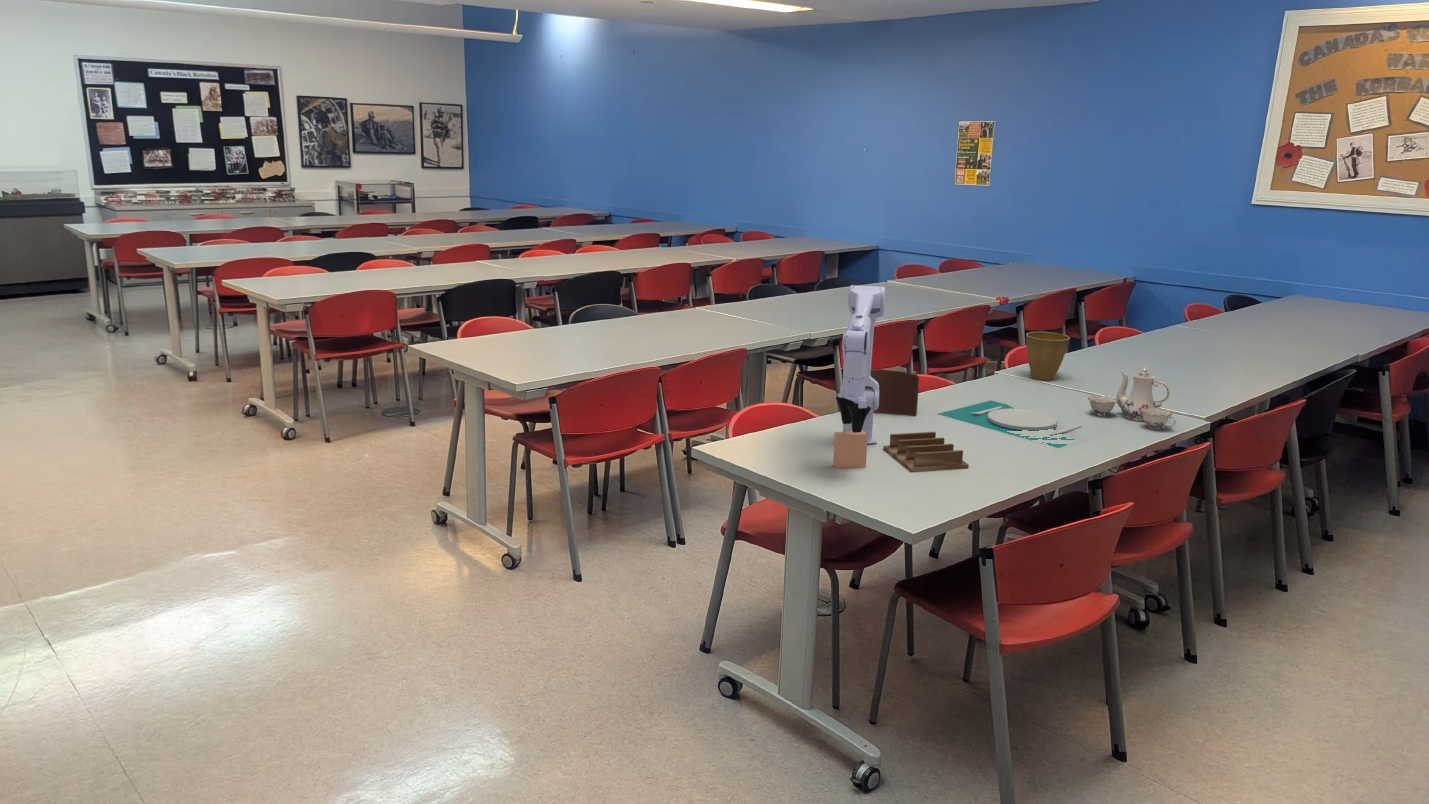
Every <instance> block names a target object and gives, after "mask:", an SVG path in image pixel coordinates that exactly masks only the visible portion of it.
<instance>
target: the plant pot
mask: <svg viewBox="0 0 1429 804" xmlns="http://www.w3.org/2000/svg"><path fill="white" fill-rule="evenodd" d="M1025 335H1026V336H1025V338H1026V339H1025V341H1026V352H1027V353H1026V354H1027V360H1028V366H1029V370H1030V374H1031V377H1032V378H1033V379H1035V380H1036V381H1037V380H1038V381H1044V382H1045V381H1049V382H1050V381H1053V380H1054V379H1055V378H1056V376H1057V373H1058V371H1059V369H1060V366H1061V365H1062V364H1063V363H1062V362H1063V361H1064V360H1063V359H1064V358H1065V355H1066V352H1067V349H1068V345H1069V342H1070V339H1071V337H1070V336H1069V335H1066V334H1063V333H1062V334H1061V333H1058V332H1051V331H1050V332H1048V331H1030V332H1026V333H1025Z"/></svg>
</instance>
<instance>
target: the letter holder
mask: <svg viewBox="0 0 1429 804" xmlns="http://www.w3.org/2000/svg"><path fill="white" fill-rule="evenodd" d="M870 376H871V377H872V378H873V379H874V380H876V381H877V382H878V384H879V406H878V409H877V410H876V411H874V412H873V414H884V415H885V414H886V415H896V416H899V415H900V416H911V417H916V416H917V415H918V414H917V413H918V403H919V401H918V400H919V390H920V389H919V388H920V387H919V386H920V385H919V384H920V383H919V382H920V376H919V375H918V374H915V373H911V372H906V371H898V370H890V369H889V370H888V369H871V374H870ZM865 388H872V387H870V386H865ZM872 389H873V388H872Z"/></svg>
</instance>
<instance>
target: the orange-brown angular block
mask: <svg viewBox="0 0 1429 804" xmlns="http://www.w3.org/2000/svg"><path fill="white" fill-rule="evenodd" d="M833 435H834V436H833V437H834V439H833V460H832V461H833V462H832V464H833V467H835V469H851V468H852V469H853V468H865V467H867V456H868V455H867V454H868V453H867V452H868V444H867V438H868V434H867V433H866V432H865V431H861V432H857V433H853V431H848V432H843V431H834V434H833Z"/></svg>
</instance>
